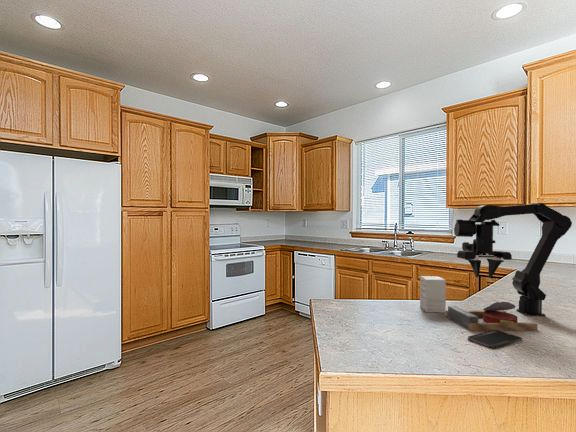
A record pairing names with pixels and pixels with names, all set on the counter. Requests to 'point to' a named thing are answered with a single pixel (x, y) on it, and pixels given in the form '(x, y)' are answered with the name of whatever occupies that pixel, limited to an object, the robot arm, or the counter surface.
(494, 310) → the canned food
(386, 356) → the counter surface
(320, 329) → the counter surface
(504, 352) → the counter surface
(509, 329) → the guide channel
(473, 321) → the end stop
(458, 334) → the counter surface
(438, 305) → the supplement box
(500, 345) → the phone
